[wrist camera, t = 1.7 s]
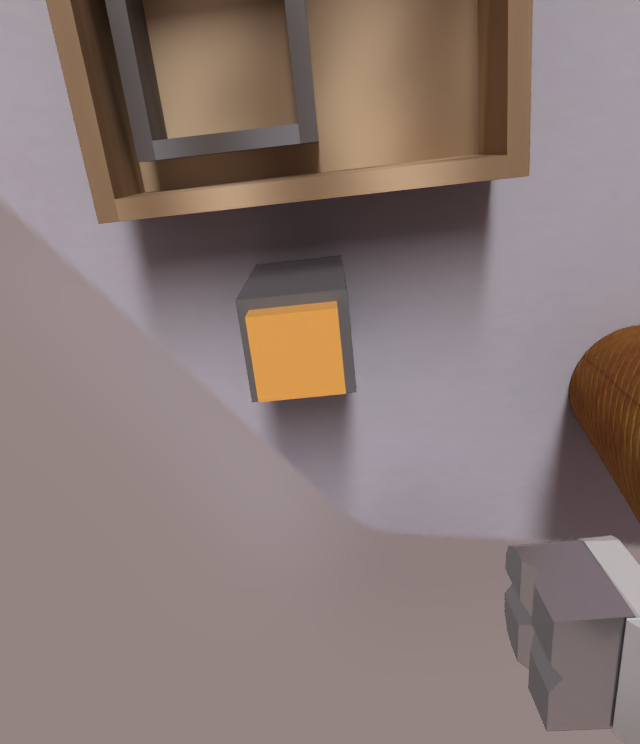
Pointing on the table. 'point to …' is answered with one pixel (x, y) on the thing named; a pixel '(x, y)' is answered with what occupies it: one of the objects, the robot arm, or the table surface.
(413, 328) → the table surface
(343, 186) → the box
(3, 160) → the table surface
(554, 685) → the robot arm
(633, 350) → the disposable coffee cup
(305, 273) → the block
